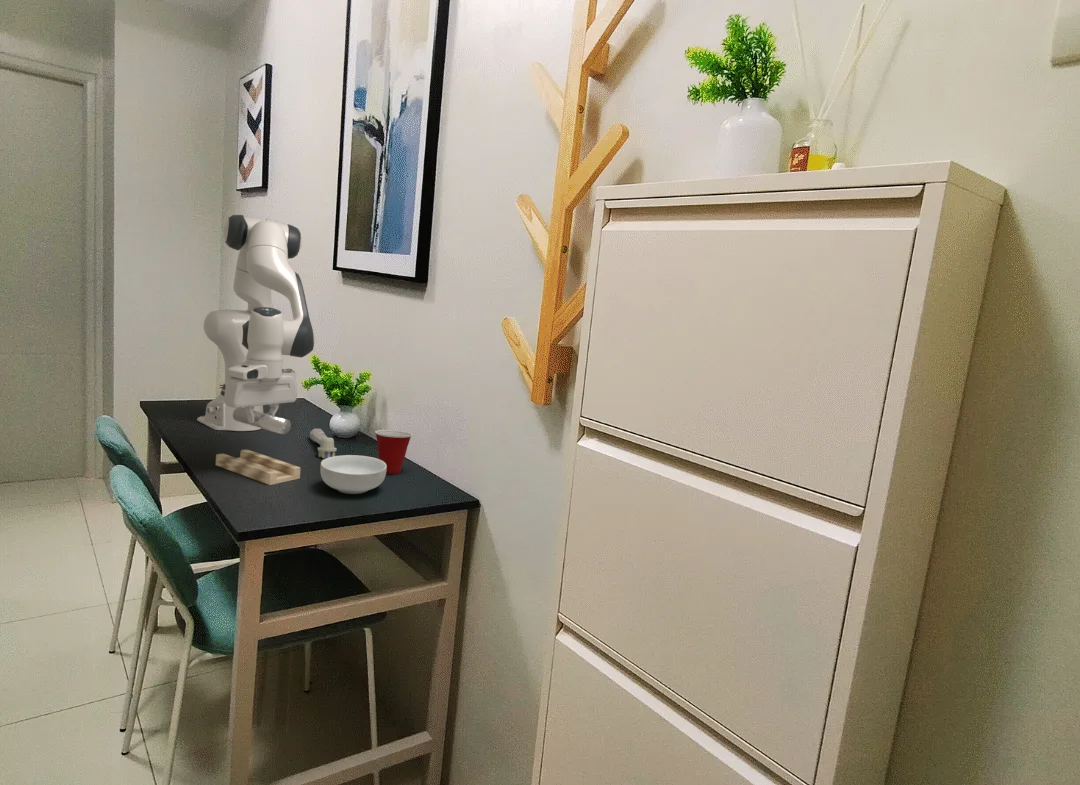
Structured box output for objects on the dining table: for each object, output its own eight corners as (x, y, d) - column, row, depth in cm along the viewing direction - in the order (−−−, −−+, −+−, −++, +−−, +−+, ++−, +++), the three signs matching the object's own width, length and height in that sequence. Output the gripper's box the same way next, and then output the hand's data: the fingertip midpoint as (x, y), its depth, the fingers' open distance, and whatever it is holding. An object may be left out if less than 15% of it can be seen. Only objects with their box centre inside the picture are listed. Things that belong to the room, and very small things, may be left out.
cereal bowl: (310, 481, 176) (312, 456, 175) (370, 477, 186) (372, 453, 185) (330, 502, 163) (333, 474, 162) (394, 497, 172) (397, 470, 171)
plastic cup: (408, 467, 200) (412, 428, 199) (409, 477, 190) (413, 437, 188) (371, 465, 198) (375, 425, 196) (370, 475, 188) (374, 434, 186)
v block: (215, 465, 180) (216, 454, 180) (246, 459, 188) (246, 449, 188) (269, 485, 170) (270, 473, 169) (299, 478, 178) (300, 467, 177)
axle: (232, 422, 179) (233, 407, 179) (245, 420, 183) (246, 406, 182) (277, 435, 171) (278, 420, 170) (290, 433, 174) (291, 418, 174)
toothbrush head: (324, 427, 221) (338, 436, 199) (323, 447, 221) (337, 458, 199) (307, 427, 218) (320, 435, 196) (306, 447, 219) (319, 458, 196)
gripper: (288, 366, 185) (285, 415, 187) (221, 369, 167) (219, 423, 169) (303, 370, 182) (300, 419, 184) (237, 373, 164) (235, 427, 166)
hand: (261, 421), depth 177 cm, fingers closed on axle, 4 cm apart
